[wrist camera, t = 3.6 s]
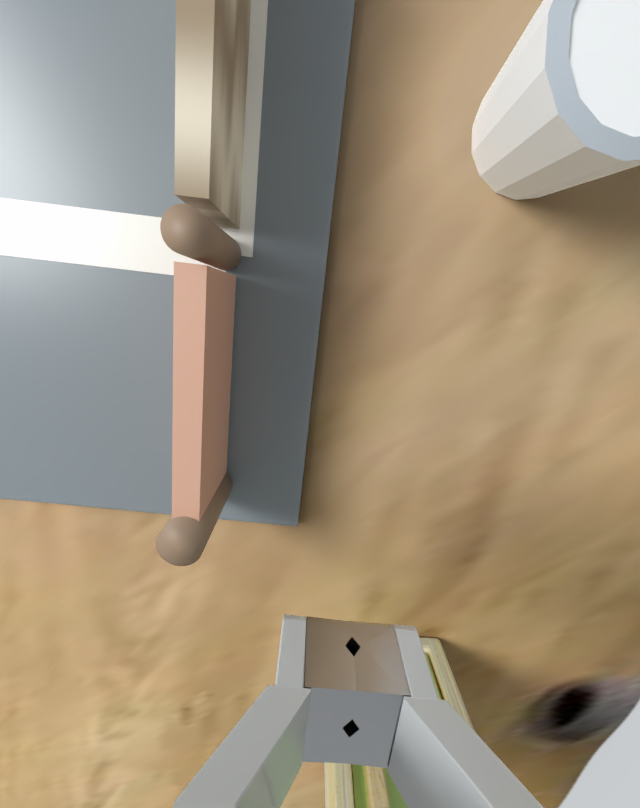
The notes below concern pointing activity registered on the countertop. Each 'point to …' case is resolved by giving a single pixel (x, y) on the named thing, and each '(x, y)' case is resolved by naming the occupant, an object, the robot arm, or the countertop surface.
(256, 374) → the card
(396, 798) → the toy refrigerator
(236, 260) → the hinged fence panel
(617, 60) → the white cup
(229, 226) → the fixed fence panel
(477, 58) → the countertop surface
